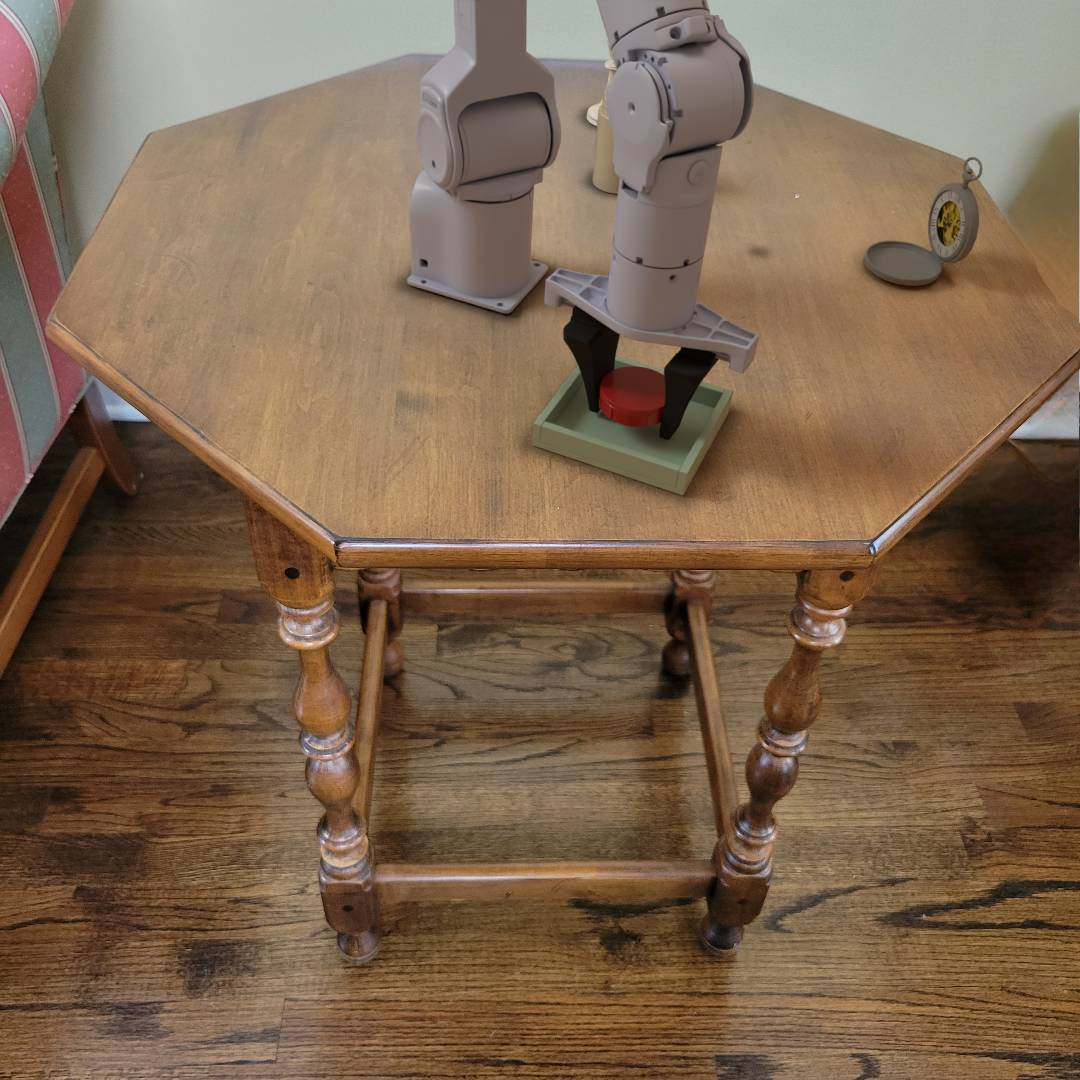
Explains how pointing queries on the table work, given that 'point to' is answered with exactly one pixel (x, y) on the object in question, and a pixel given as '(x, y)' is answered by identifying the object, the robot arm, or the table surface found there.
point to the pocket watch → (932, 238)
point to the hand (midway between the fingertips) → (634, 418)
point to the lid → (633, 396)
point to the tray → (632, 434)
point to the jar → (604, 154)
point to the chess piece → (593, 110)
